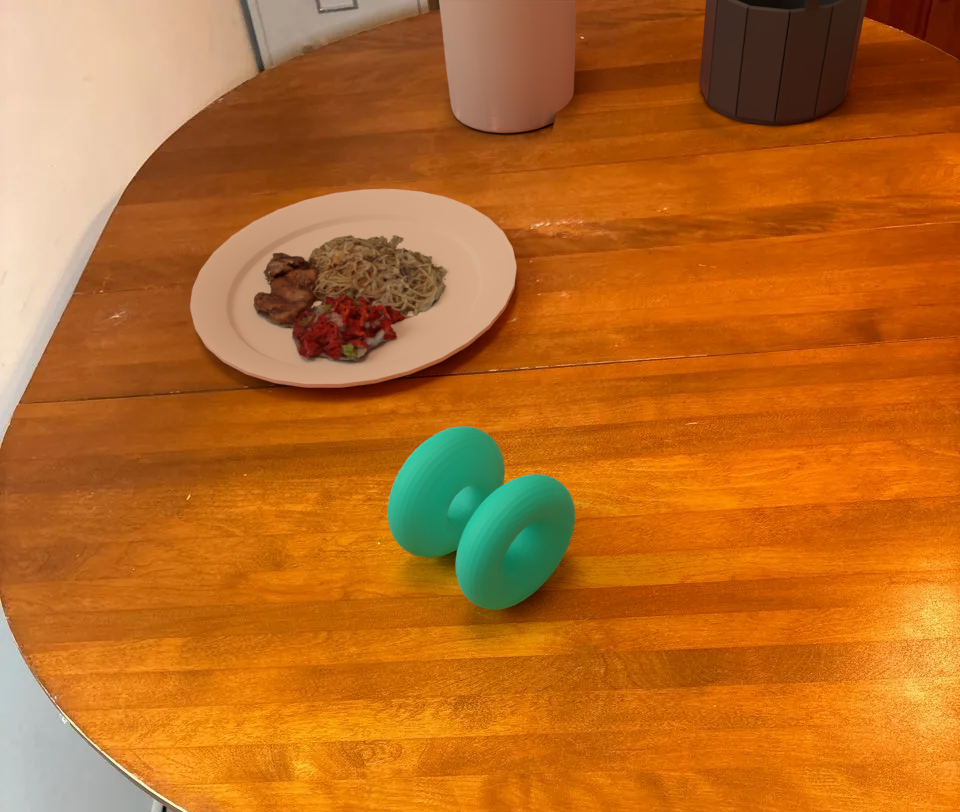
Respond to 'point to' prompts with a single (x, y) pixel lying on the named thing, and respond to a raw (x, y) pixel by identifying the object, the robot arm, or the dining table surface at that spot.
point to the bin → (779, 57)
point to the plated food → (353, 288)
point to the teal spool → (481, 517)
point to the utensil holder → (509, 61)
